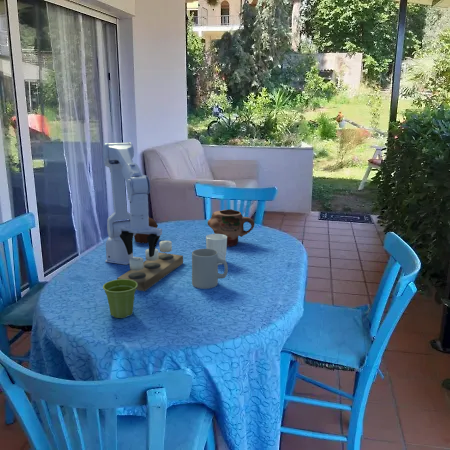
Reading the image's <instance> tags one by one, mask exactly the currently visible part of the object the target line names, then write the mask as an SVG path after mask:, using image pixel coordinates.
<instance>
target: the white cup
mask: <svg viewBox="0 0 450 450" xmlns="http://www.w3.org/2000/svg"><path fill="white" fill-rule="evenodd" d="M205 244H206V246H205V247H206V248H205V249H213V250H216V251H217V252H218V258H222V259H224V260H226V258H227V257H226V255H227V247H228V246H227V236H226V235H223V234H215V233H211V234H206V236H205ZM226 261H227V260H226ZM221 265H223V264H222V263H218V266H221Z"/></svg>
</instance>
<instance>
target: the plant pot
mask: <svg viewBox="0 0 450 450" xmlns="http://www.w3.org/2000/svg"><path fill="white" fill-rule="evenodd" d="M137 286H138V284H137V282H135V281H133V280H128V279H118V280H117V279H113V280H110V281H109V280H108V281H107V282H105V283H104V284H103V286H102V289H103V290H104V292H105V294H106V299H107V302H108V303H107V304H108V308H109V313H110V316H112V317H113V318H116V319H124V318H127V317H129V316H132V314H133V313H134V305H135V304H134V302H135V295H136V291H137V290H136V288H137Z"/></svg>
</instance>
